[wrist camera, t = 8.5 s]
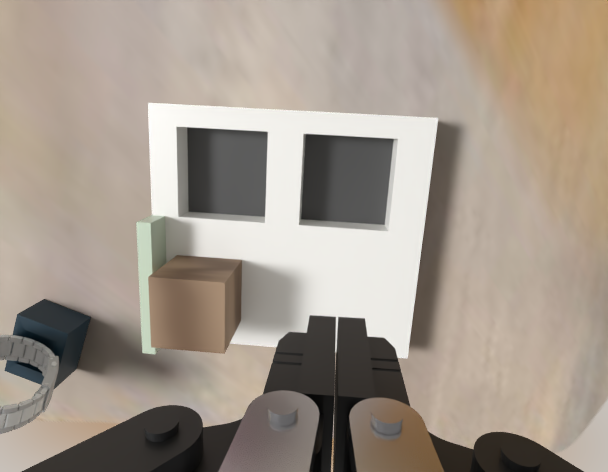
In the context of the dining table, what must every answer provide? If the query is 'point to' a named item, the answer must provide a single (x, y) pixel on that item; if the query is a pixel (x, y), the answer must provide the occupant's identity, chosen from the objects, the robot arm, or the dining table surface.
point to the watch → (41, 356)
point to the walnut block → (195, 303)
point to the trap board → (292, 213)
